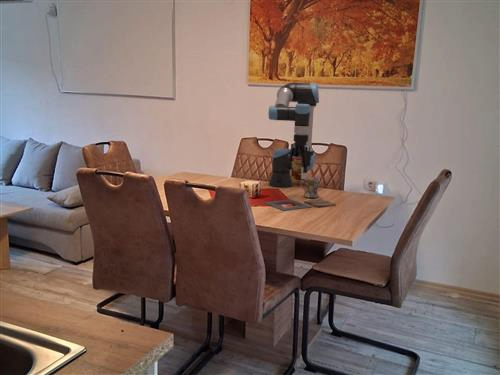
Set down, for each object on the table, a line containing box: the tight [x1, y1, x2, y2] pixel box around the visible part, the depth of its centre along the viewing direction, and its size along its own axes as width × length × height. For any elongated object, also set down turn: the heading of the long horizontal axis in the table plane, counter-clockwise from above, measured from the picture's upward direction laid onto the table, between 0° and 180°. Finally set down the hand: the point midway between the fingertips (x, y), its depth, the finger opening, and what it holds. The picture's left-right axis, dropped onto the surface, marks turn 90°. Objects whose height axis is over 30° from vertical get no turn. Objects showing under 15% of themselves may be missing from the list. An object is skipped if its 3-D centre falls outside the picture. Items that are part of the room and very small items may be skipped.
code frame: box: [263, 198, 312, 212], centre depth 248 cm, size 18×18×1 cm
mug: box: [299, 177, 321, 199], centre depth 270 cm, size 12×9×11 cm
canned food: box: [290, 156, 306, 182], centre depth 246 cm, size 8×8×12 cm
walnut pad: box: [303, 198, 337, 209], centre depth 253 cm, size 12×12×1 cm
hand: (298, 177), depth 247 cm, fingers closed on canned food, 8 cm apart
